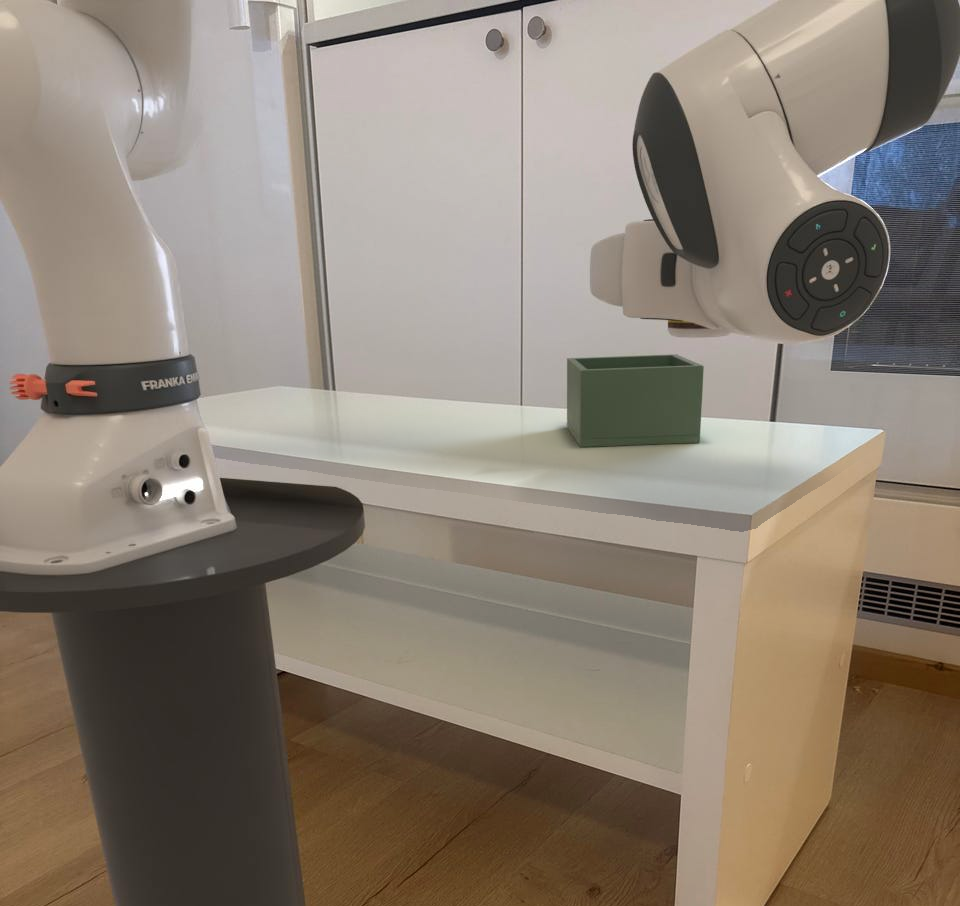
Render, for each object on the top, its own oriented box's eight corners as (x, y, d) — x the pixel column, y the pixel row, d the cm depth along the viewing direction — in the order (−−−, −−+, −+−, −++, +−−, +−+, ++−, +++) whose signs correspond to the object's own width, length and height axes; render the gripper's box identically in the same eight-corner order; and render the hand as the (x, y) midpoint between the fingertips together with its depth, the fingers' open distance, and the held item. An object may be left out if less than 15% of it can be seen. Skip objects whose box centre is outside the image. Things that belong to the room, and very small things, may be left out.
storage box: (699, 442, 99) (704, 365, 96) (580, 447, 99) (580, 370, 96) (673, 423, 111) (676, 354, 108) (566, 427, 111) (567, 358, 108)
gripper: (900, 215, 65) (827, 222, 78) (606, 222, 65) (581, 228, 78) (888, 311, 68) (819, 303, 81) (604, 318, 68) (580, 309, 80)
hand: (700, 266), depth 79 cm, fingers closed on supplement bottle, 5 cm apart
